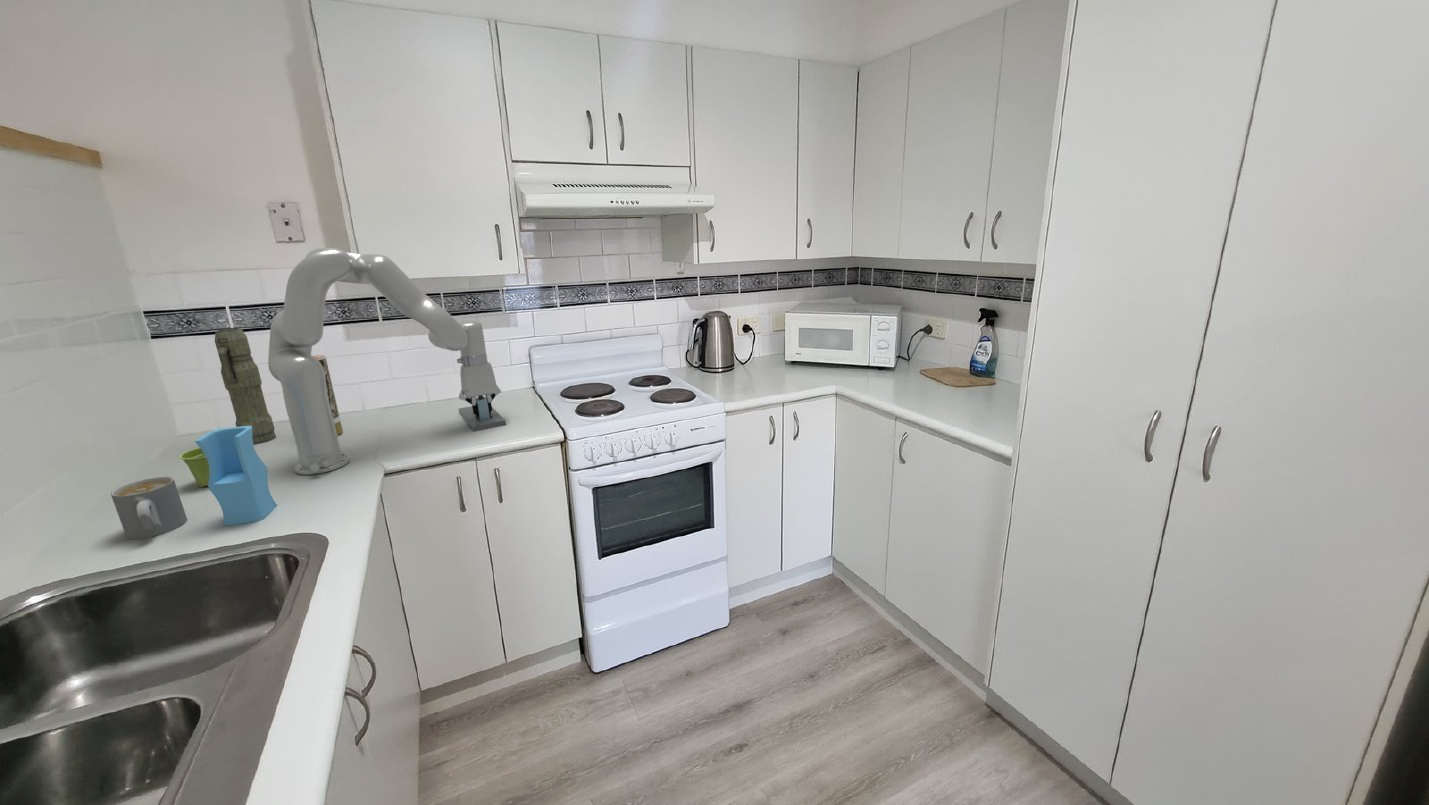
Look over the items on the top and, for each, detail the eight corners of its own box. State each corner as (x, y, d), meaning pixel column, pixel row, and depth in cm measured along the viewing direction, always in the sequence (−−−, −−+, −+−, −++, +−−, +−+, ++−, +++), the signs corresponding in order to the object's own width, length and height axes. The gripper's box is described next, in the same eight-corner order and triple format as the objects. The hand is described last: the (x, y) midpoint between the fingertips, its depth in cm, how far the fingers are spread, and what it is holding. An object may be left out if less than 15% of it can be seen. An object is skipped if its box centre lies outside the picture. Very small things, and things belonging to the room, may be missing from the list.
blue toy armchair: (221, 526, 127) (194, 441, 121) (238, 510, 134) (213, 429, 129) (262, 520, 129) (238, 436, 123) (277, 505, 137) (254, 424, 131)
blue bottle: (490, 419, 191) (486, 396, 188) (480, 421, 189) (476, 397, 187) (487, 416, 194) (483, 393, 192) (477, 418, 193) (474, 395, 190)
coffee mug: (136, 523, 130) (122, 482, 127) (193, 512, 134) (180, 473, 131) (110, 551, 119) (93, 507, 116) (173, 538, 123) (158, 495, 120)
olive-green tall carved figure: (233, 448, 175) (199, 333, 165) (251, 435, 186) (220, 327, 176) (267, 444, 178) (236, 330, 168) (282, 432, 189) (254, 324, 178)
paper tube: (340, 436, 183) (322, 358, 175) (315, 439, 180) (296, 361, 173) (345, 430, 189) (327, 354, 181) (320, 433, 186) (302, 356, 179)
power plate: (506, 424, 188) (505, 418, 187) (473, 431, 183) (472, 424, 182) (489, 407, 207) (488, 401, 207) (459, 413, 202) (458, 406, 202)
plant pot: (243, 478, 153) (234, 448, 150) (199, 493, 145) (188, 460, 142) (227, 472, 157) (218, 442, 155) (183, 486, 149) (173, 454, 147)
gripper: (449, 366, 179) (459, 422, 184) (503, 358, 187) (511, 412, 192) (445, 362, 185) (454, 417, 190) (498, 354, 193) (505, 407, 199)
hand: (483, 414), depth 191 cm, fingers closed on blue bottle, 3 cm apart
